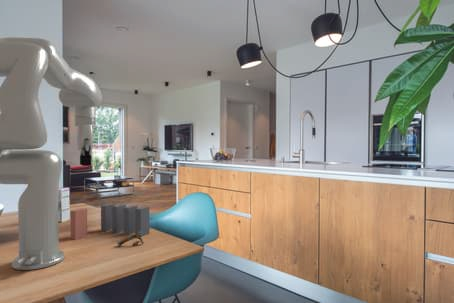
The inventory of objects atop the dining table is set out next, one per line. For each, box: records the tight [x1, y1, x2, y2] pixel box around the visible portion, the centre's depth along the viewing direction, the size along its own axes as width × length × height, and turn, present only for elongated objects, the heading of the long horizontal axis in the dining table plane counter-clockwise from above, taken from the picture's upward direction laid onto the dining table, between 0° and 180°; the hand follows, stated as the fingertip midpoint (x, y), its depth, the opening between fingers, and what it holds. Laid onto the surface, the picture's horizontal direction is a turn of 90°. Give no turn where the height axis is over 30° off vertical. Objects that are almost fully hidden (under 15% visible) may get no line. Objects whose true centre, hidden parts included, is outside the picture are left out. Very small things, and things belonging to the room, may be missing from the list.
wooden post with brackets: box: [116, 231, 145, 248], centre depth 96 cm, size 2×8×4 cm, turn 106°
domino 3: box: [111, 203, 127, 234], centre depth 112 cm, size 2×5×10 cm, turn 158°
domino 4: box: [123, 204, 139, 236], centre depth 110 cm, size 2×5×10 cm, turn 158°
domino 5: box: [134, 206, 150, 238], centre depth 108 cm, size 2×5×10 cm, turn 158°
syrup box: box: [58, 187, 71, 223], centre depth 128 cm, size 6×6×14 cm
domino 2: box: [100, 202, 116, 233], centre depth 114 cm, size 2×5×10 cm, turn 158°
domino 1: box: [70, 207, 88, 241], centre depth 104 cm, size 2×5×10 cm, turn 158°
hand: (85, 165), depth 116 cm, fingers open, 9 cm apart
